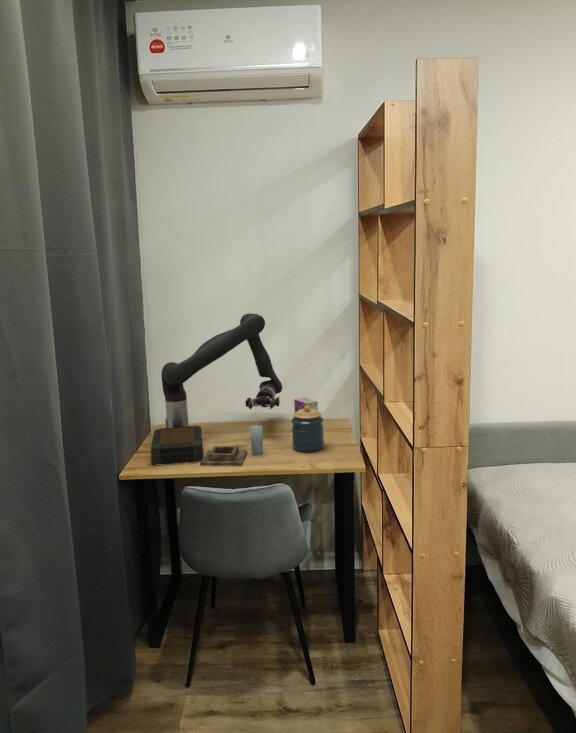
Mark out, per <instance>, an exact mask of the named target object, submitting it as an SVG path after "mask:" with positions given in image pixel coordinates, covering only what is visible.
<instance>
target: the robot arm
mask: <svg viewBox="0 0 576 733" xmlns="http://www.w3.org/2000/svg"><path fill="white" fill-rule="evenodd" d="M265 326H266V320H265V318H264V317H263V316H262V315H260V314H258V313H249V312H248V313H245V314H244V315H243V314H242V316H241V318H240V320H239V324H238V325H237V326H236V327H234V328H232V329H228V330H227V331H224V332H222V333H219V334H217V335H214V336H212V337H211V338H210V339H208V340H207V341H205V342H204V343H203V342H202V344H201V345H200V346H199V347H198V349H196V351H194V353H193V354H192V355H190V356H189V357H188V358H186V359H184V360H183V361H180V362H179V363H177V362H174V361H170V362H168V363H165V364H164V365H163V367H162V369H161V385H162V391H163V395H164V402H165V404H164V405H165V414H166V417H165V418H164V421H165V428H173V427H186V426H190V424H189V411H188V398H187V397H188V395H187V391H186V390H185V387H184V383H186V382H187V381H188V380H189V379H190V378H192V377H193V376H194V375H195V374H197V373H198V372H200V371H201V370H202V369H205V368H206V367H207V366H209V365H211V364H212V363H213V362H215V361H217V360H219V359H220V358H223V356H225V355H226V354H227V353H229V352H231V351H232V350H233V349H235V348H236V347H237V346H240V344H242V343H243V342H245V341H247V344H248V345H249V348H250V351H251V353H252V357H253V358H254V363H255V367H256V370H257V371H258V375H259V377H260V378H269V379H268V380H264V381H262V382H260V384H259V386H258V387H259V390H258V393H257V394H256V396H255V398H251V397H247V399H246V400H245V407H246V408H248V409H249V410H252V409H253V408H254V407H255V408H257V407H260V408H268V407H269V409H270V410H272V409H273V408H275V406H276V407H279V406H280V403H281V401H280V399H281V398H280V397H279V396H277V397H276V394H280V393H281V392H282V390H283V383H282V382H281V380H280V379H279V378H278V376H277V373H276V371H275V370H274V368H273V367H274V366H273V363H272V360H271V357H270V355H269V353H268V351H267V349H266V347H265V346H264V344H263V342H262V340H261V337H260V334H261V333H262V332H263V330H264V328H265Z"/></svg>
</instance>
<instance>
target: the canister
mask: <svg viewBox="0 0 576 733" xmlns="http://www.w3.org/2000/svg"><path fill="white" fill-rule="evenodd" d="M291 422H292V427H291V431H292V443H291V444H292V447H293V448H292V449H294V450H295V451H298V452H300V453H312V452H313V453H314V452H319V451H321V450H323V449H324V445H325V439H324V428H325V427H324V425H323V422H324V418H323V417H322V413H321V411H319V410H318V411H317V410H316V409H310V407H309V406H305V407H304V409H300V410H298V411H297V412H295V411H294V413H293V418H291Z"/></svg>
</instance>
